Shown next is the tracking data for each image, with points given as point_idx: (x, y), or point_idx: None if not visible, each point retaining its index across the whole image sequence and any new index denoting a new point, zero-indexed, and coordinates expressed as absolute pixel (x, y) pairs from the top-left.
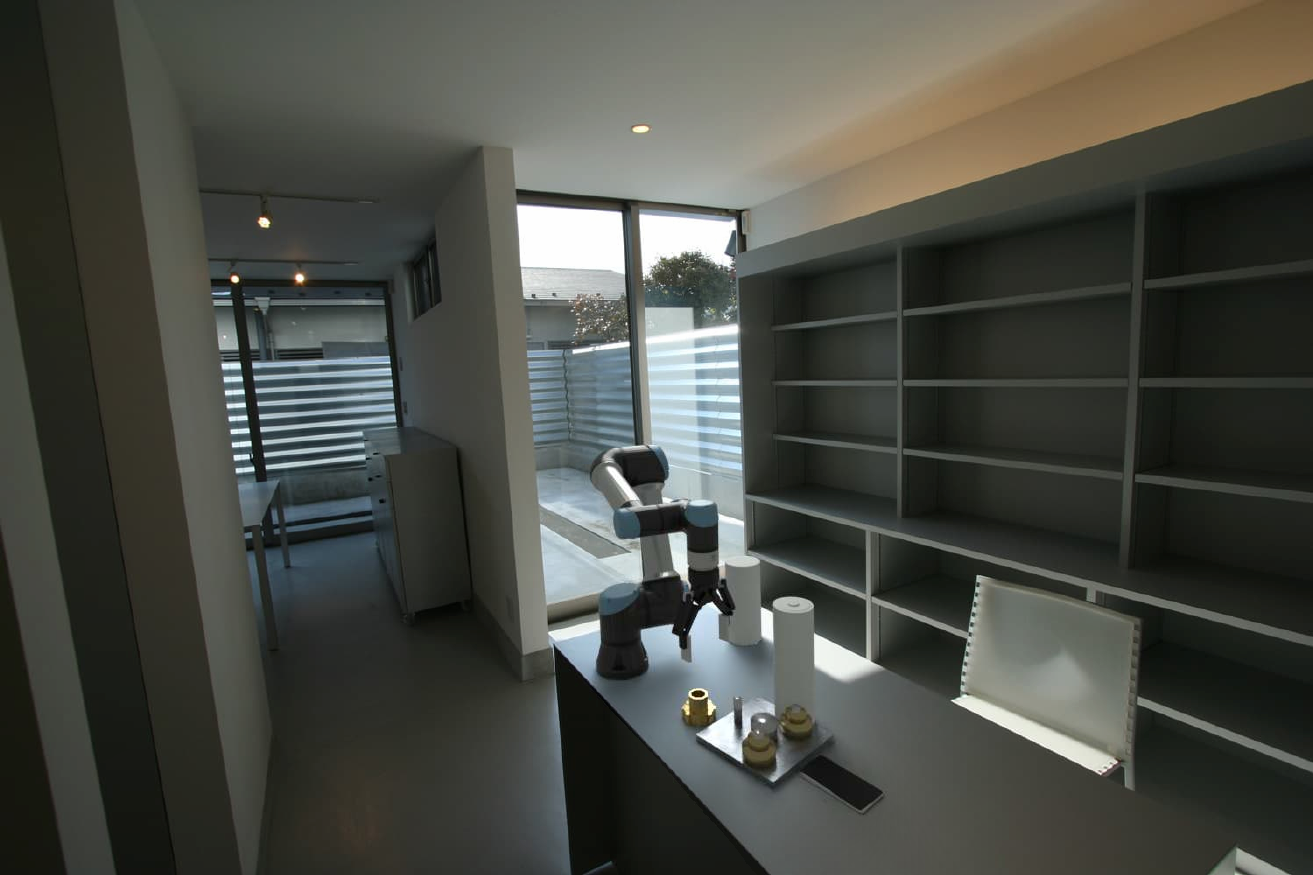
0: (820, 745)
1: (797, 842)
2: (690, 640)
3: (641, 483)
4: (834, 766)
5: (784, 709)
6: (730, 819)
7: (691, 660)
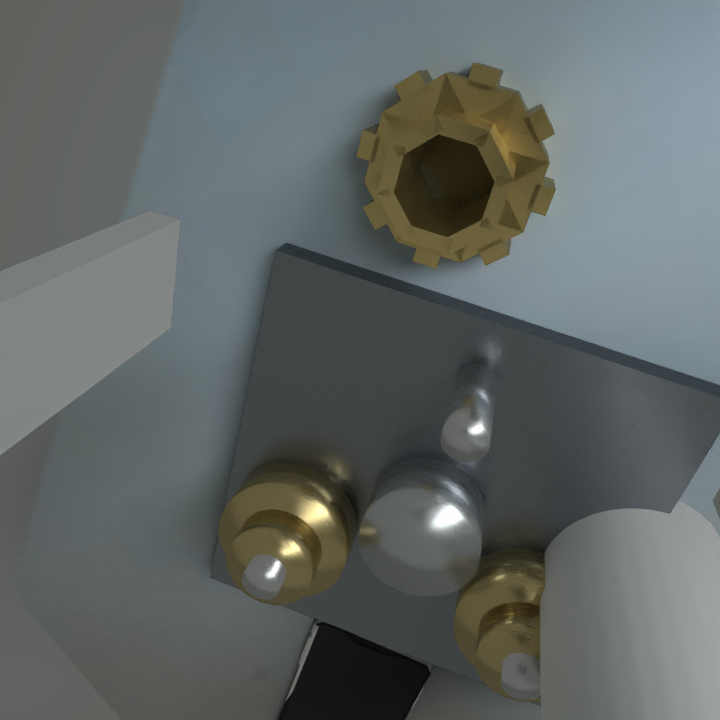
0: (466, 673)
1: (101, 633)
2: (6, 440)
3: None
4: (395, 701)
5: (543, 607)
6: (51, 487)
7: (162, 331)
